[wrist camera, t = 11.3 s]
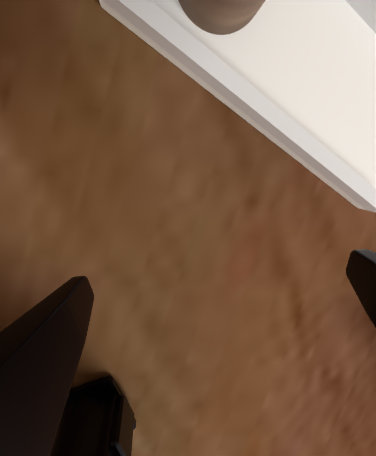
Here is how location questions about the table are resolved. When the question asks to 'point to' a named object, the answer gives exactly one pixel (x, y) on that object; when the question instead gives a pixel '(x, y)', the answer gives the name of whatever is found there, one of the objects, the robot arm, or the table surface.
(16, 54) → the table surface
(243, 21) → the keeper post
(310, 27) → the guide track
